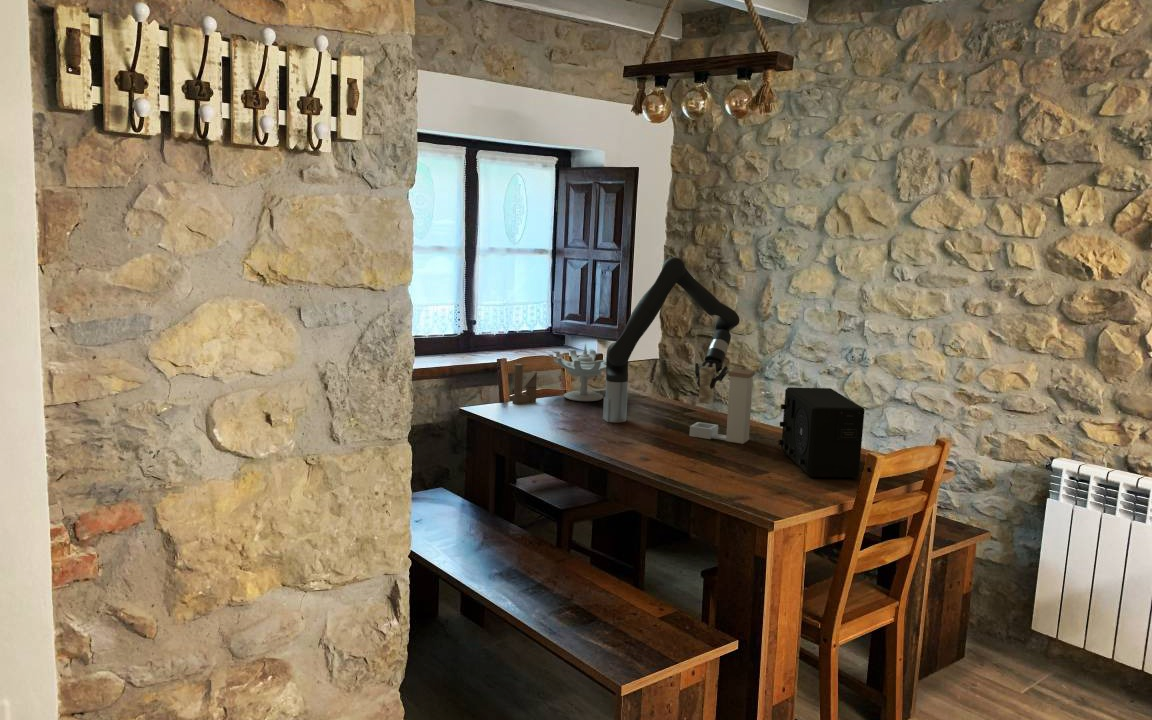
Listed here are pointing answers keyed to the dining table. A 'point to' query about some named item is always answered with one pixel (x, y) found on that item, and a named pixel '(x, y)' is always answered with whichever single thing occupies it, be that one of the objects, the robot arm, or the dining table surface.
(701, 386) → the block
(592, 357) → the candelabra
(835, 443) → the vintage radio
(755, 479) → the dining table surface
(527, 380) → the wooden block
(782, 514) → the dining table surface
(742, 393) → the post
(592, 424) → the dining table surface
